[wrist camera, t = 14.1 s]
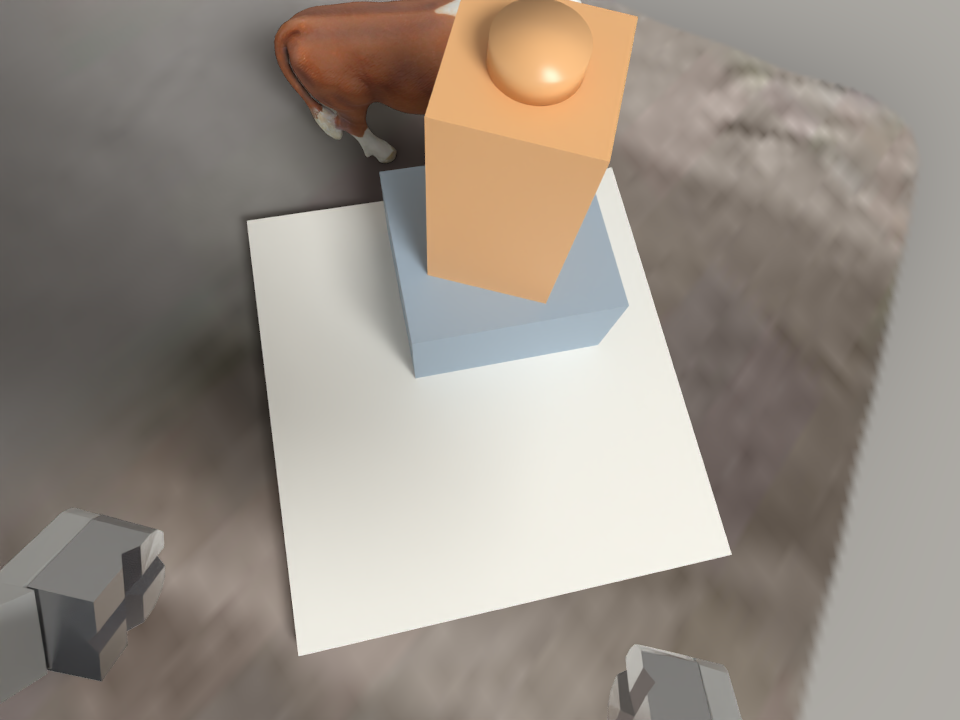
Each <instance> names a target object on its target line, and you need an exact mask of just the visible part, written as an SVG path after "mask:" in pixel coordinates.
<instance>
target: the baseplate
mask: <svg viewBox="0 0 960 720" xmlns="http://www.w3.org/2000/svg"><path fill="white" fill-rule="evenodd" d="M596 196H597V200H598V203H599V206H600V210H601V213H602V216H603V220H604V223H605V226H606V230H607V233H608V237H609V240H610V243H611V247H612V250H613V253H614V257H615V260H616V263H617V267H618V270H619V274H620V277H621V280H622V284H623V287H624V290H625V294H626V297H627V300H628V304H629V306H628V308H627V309H626V310H625V312H624V313H623V314H622V315H621V317H620V318H619V319H618V320H617V322H616V323H615V324H614V325H613V327H612V328H611V329H610V330H609V332H608V333H607V334H606V336H605V337H604V338H603V339H602V341H601V342H600V343H599V344H598V345H595V346H590V347H584V348H579V349H573V350H568V351H562V352H557V353H551V354H546V355H540V356H535V357H529V358H524V359H519V360H513V361H508V362H502V363H497V364H491V365H486V366H480V367H475V368H469V369H464V370H458V371H453V372H447V373H442V374H437V375H431V376H426V377H420V378H415V373H414V368H413V363H412V357H411V352H410V347H409V342H408V336H407V331H406V326H405V320H404V315H403V310H402V304H401V299H400V294H399V288H398V283H397V278H396V273H395V267H394V262H393V257H392V251H391V246H390V241H389V235H388V230H387V223H386V216H385V209H384V201H379V202H373V203H366V204H359V205H352V206H345V207H338V208H331V209H324V210H318V211H311V212H304V213H297V214H290V215H283V216H276V217H269V218H262V219H256V220H249V221H247V226H248V235H249V243H250V252H251V260H252V269H253V277H254V285H255V294H256V302H257V311H258V319H259V327H260V336H261V344H262V353H263V361H264V370H265V378H266V386H267V395H268V403H269V412H270V420H271V428H272V437H273V445H274V454H275V462H276V470H277V479H278V487H279V496H280V504H281V513H282V521H283V529H284V538H285V546H286V555H287V563H288V571H289V580H290V588H291V597H292V605H293V614H294V622H295V630H296V639H297V647H298V656H302V655H306V654H310V653H315V652H319V651H323V650H327V649H332V648H336V647H340V646H344V645H349V644H353V643H357V642H361V641H366V640H370V639H374V638H378V637H383V636H387V635H391V634H395V633H400V632H404V631H408V630H413V629H417V628H421V627H425V626H430V625H434V624H438V623H442V622H447V621H451V620H455V619H459V618H464V617H468V616H472V615H476V614H481V613H485V612H489V611H493V610H498V609H502V608H506V607H510V606H515V605H519V604H523V603H527V602H532V601H536V600H540V599H545V598H549V597H553V596H557V595H562V594H566V593H570V592H574V591H579V590H583V589H587V588H591V587H596V586H600V585H604V584H608V583H613V582H617V581H621V580H625V579H630V578H634V577H638V576H642V575H647V574H651V573H655V572H659V571H664V570H668V569H672V568H677V567H681V566H685V565H689V564H694V563H698V562H702V561H706V560H711V559H715V558H719V557H723V556H728V555H732V554H731V551H730V548H729V544H728V541H727V538H726V535H725V531H724V528H723V525H722V522H721V519H720V515H719V512H718V509H717V506H716V502H715V499H714V496H713V493H712V489H711V486H710V483H709V480H708V477H707V473H706V470H705V467H704V464H703V460H702V457H701V454H700V451H699V448H698V444H697V441H696V438H695V435H694V431H693V428H692V425H691V422H690V418H689V415H688V412H687V409H686V406H685V402H684V399H683V396H682V393H681V389H680V386H679V383H678V380H677V376H676V373H675V370H674V367H673V364H672V360H671V357H670V354H669V351H668V347H667V344H666V341H665V338H664V335H663V331H662V328H661V325H660V322H659V318H658V315H657V312H656V309H655V305H654V302H653V299H652V296H651V293H650V289H649V286H648V283H647V280H646V276H645V273H644V270H643V267H642V263H641V260H640V257H639V254H638V251H637V247H636V244H635V241H634V238H633V234H632V231H631V228H630V225H629V221H628V218H627V215H626V212H625V209H624V205H623V202H622V199H621V196H620V192H619V189H618V186H617V183H616V180H615V176H614V173H613V170H612V168H607V169H606V171H605V174H604V176H603V178H602V180H601V182H600V185H599V187H598V189H597V191H596Z"/></svg>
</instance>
